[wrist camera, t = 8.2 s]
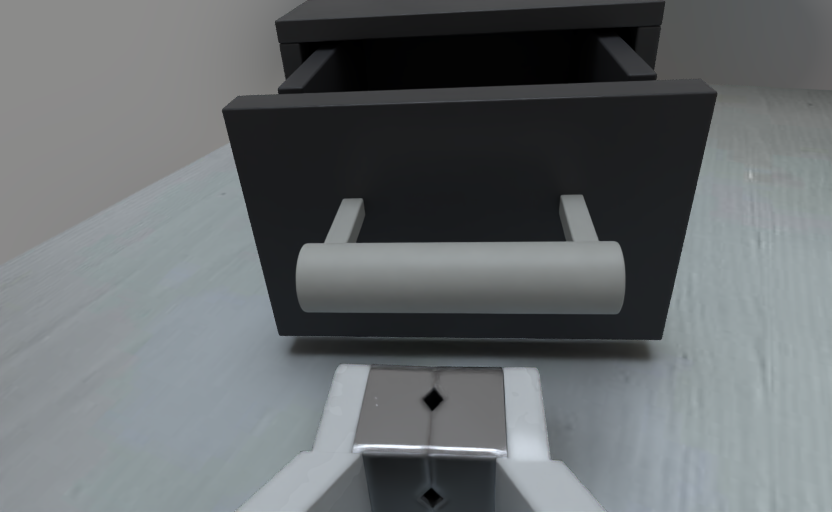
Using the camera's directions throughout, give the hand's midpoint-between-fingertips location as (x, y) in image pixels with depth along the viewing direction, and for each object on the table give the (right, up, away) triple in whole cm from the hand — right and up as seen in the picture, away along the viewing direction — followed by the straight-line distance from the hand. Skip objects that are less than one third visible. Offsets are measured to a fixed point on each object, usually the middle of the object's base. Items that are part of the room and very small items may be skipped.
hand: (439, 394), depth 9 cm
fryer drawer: (+2, +2, +13) cm, 14 cm away
